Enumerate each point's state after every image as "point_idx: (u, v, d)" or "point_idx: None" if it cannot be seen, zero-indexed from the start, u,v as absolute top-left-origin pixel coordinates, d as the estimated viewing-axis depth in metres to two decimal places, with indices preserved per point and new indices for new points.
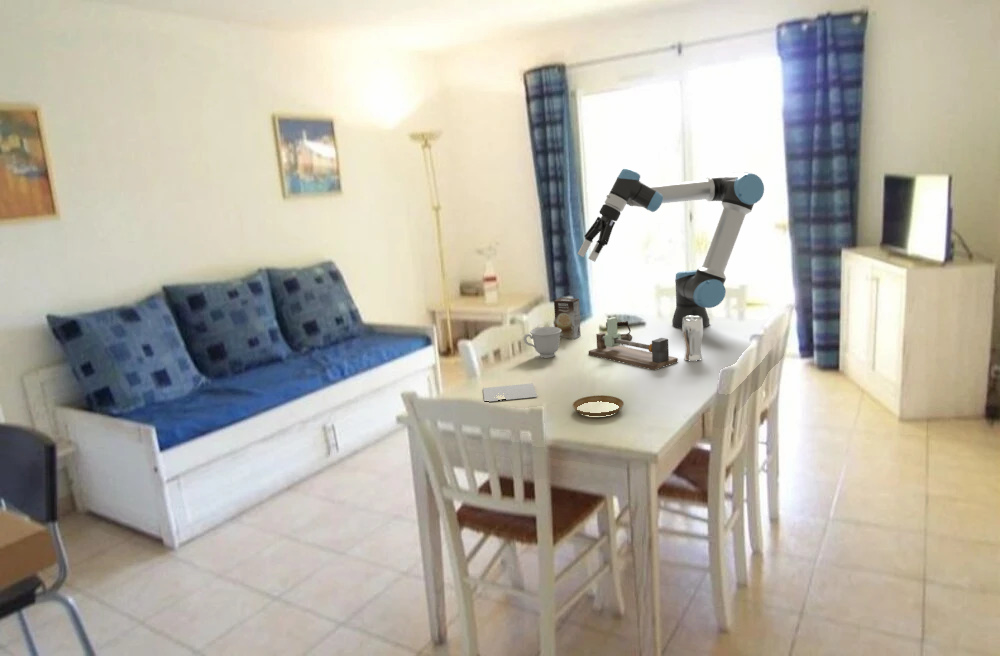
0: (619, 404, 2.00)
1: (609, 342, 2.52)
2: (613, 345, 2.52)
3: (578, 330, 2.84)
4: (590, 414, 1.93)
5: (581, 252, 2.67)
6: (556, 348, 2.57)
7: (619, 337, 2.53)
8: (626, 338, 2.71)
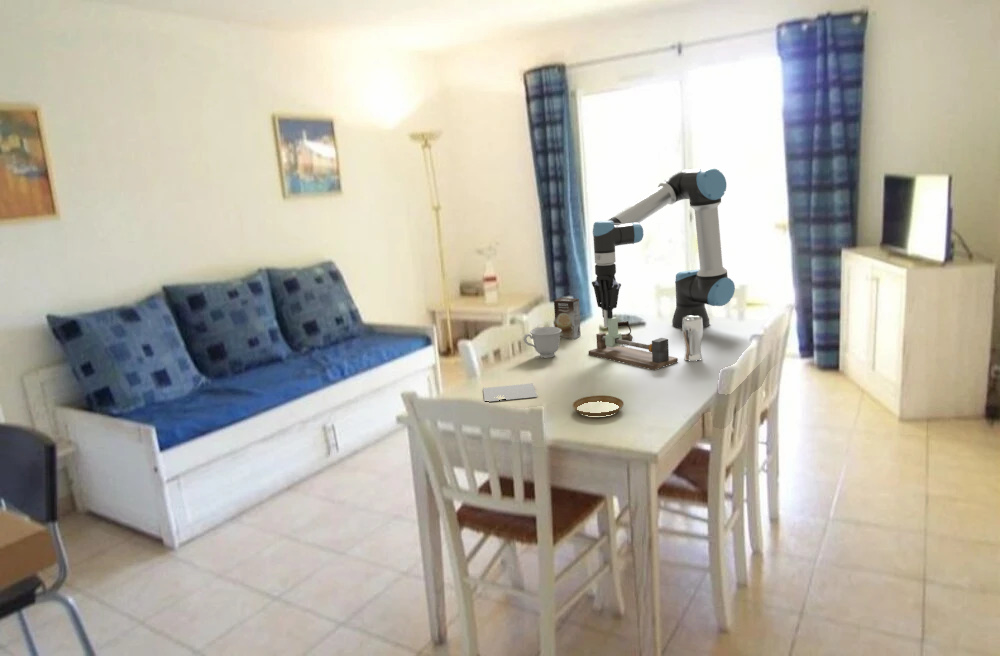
0: (619, 404, 2.00)
1: (610, 342, 2.52)
2: (614, 345, 2.52)
3: (578, 330, 2.84)
4: (590, 414, 1.93)
5: None
6: (556, 348, 2.57)
7: (620, 337, 2.53)
8: (627, 338, 2.70)
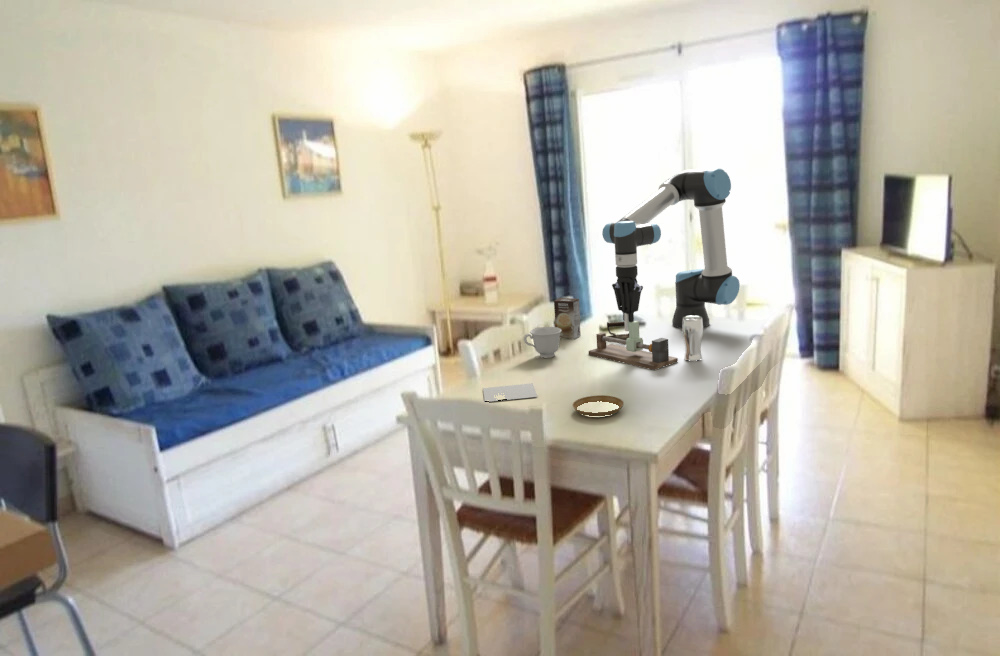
0: (619, 404, 2.00)
1: (631, 347, 2.44)
2: (635, 350, 2.44)
3: (578, 330, 2.84)
4: (590, 414, 1.93)
5: None
6: (556, 348, 2.57)
7: (641, 341, 2.45)
8: None
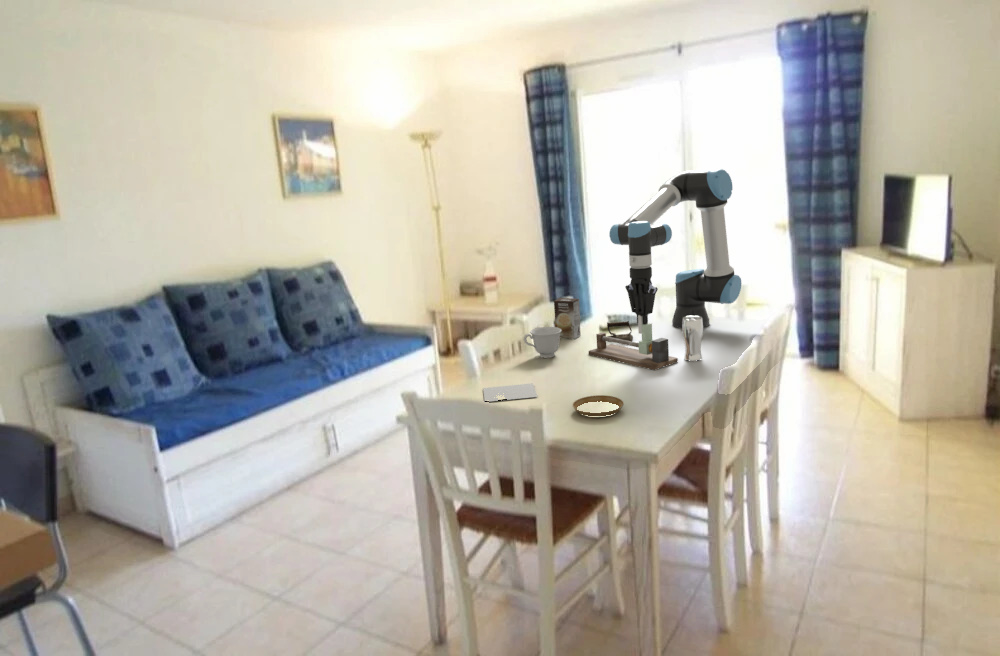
0: (619, 404, 2.00)
1: (644, 349, 2.39)
2: (648, 352, 2.39)
3: (578, 330, 2.84)
4: (590, 414, 1.93)
5: None
6: (556, 348, 2.57)
7: None
8: (627, 338, 2.70)
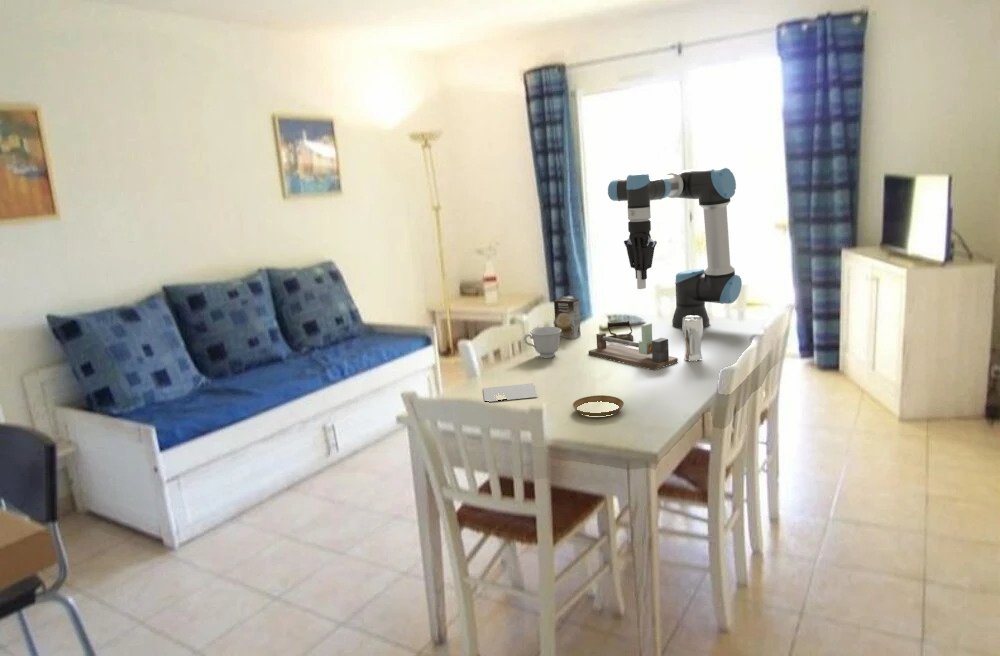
0: (619, 404, 2.00)
1: (644, 349, 2.39)
2: (648, 352, 2.39)
3: (578, 330, 2.84)
4: (590, 414, 1.93)
5: None
6: (556, 348, 2.57)
7: None
8: (628, 338, 2.70)
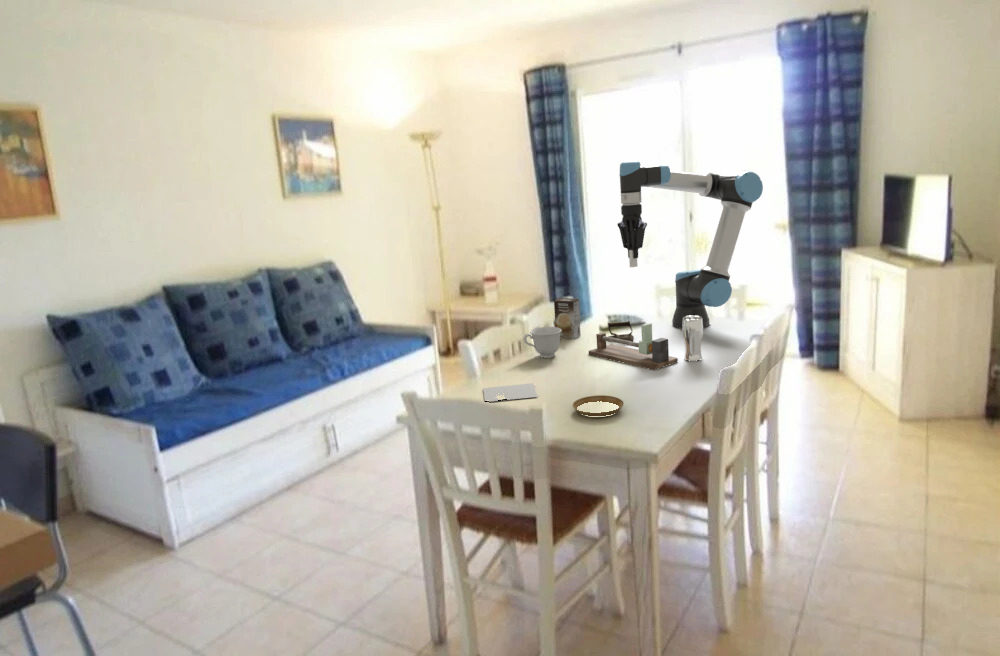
0: (619, 404, 2.00)
1: (644, 349, 2.39)
2: (648, 352, 2.39)
3: (578, 330, 2.84)
4: (590, 414, 1.93)
5: None
6: (556, 348, 2.57)
7: None
8: (629, 338, 2.70)
